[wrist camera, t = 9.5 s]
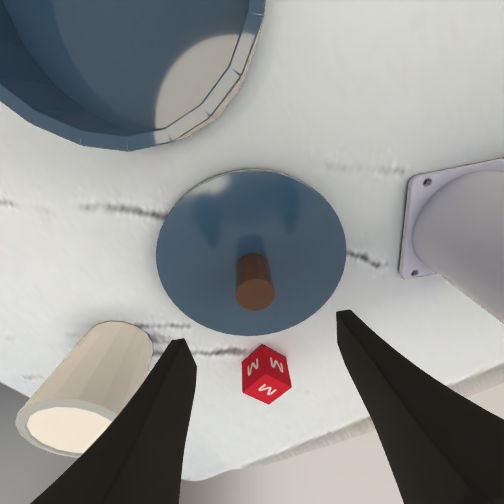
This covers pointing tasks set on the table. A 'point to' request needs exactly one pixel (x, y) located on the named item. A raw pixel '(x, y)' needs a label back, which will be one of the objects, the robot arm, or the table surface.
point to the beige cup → (87, 389)
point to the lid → (251, 252)
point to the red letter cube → (265, 375)
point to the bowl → (125, 66)
